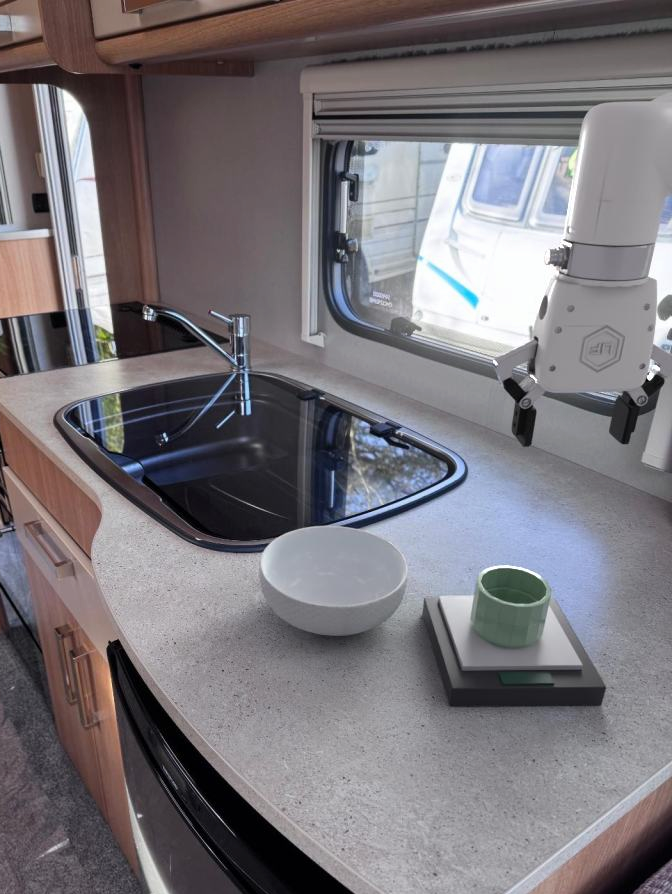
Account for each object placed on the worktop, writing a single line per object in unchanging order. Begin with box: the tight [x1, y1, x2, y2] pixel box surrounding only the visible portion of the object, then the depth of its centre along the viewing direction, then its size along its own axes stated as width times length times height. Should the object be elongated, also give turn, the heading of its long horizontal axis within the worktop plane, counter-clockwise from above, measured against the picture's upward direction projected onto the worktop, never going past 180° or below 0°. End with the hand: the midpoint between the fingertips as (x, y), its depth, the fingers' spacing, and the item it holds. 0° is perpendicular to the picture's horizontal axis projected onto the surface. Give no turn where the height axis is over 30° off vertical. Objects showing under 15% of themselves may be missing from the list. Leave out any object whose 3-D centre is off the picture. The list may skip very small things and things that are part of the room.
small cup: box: [470, 565, 552, 648], centre depth 76 cm, size 7×7×6 cm
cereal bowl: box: [258, 525, 409, 637], centre depth 82 cm, size 17×17×7 cm
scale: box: [422, 594, 607, 708], centre depth 77 cm, size 15×15×3 cm
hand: (570, 440), depth 72 cm, fingers open, 9 cm apart
